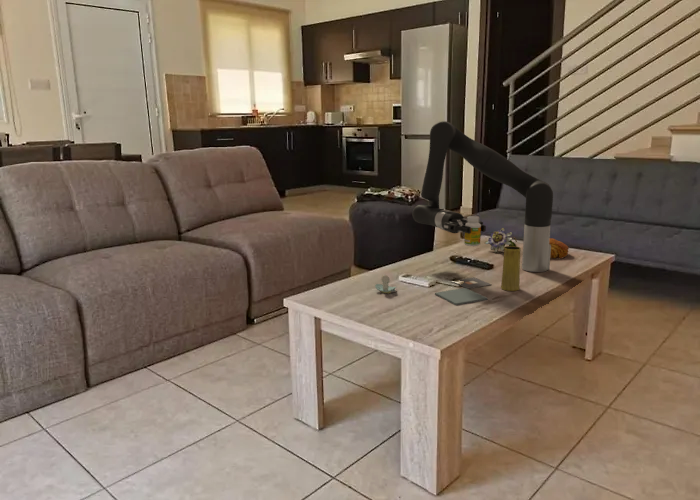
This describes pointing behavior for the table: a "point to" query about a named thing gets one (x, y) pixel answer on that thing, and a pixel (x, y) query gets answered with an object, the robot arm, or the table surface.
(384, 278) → the pacifier
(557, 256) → the croissant
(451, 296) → the slate pad
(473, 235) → the supplement bottle
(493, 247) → the passion flower
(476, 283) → the dark gray tile
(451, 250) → the table surface
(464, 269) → the table surface
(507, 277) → the vase
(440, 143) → the robot arm
